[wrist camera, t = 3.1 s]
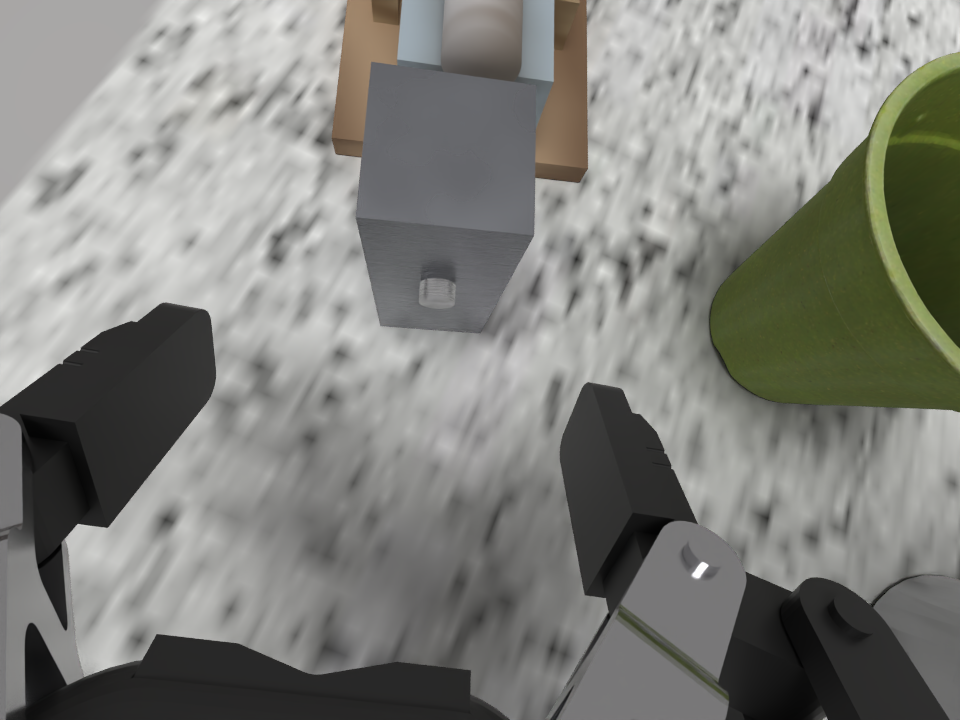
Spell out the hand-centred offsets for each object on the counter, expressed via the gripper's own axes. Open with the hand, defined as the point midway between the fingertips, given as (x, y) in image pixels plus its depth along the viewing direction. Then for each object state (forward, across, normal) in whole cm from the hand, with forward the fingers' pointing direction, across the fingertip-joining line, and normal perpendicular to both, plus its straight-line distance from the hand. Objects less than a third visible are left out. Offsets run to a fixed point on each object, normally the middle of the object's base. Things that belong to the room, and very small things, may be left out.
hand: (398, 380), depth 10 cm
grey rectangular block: (+12, 0, +3) cm, 12 cm away
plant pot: (+13, -17, +2) cm, 22 cm away
